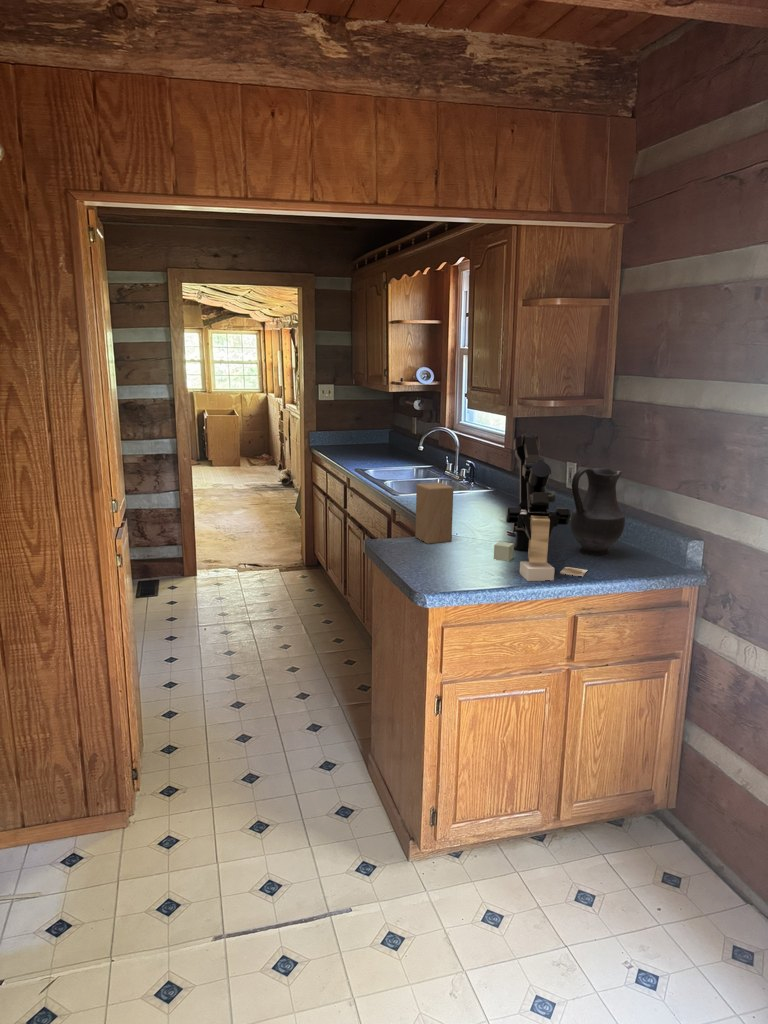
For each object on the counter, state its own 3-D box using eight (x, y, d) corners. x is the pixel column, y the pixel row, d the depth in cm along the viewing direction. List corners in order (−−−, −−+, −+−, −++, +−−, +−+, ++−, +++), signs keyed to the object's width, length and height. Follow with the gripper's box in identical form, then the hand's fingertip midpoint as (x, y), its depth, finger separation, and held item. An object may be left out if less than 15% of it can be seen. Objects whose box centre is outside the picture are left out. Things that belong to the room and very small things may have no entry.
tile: (565, 567, 226) (565, 566, 226) (587, 571, 223) (587, 569, 223) (559, 573, 220) (559, 571, 220) (582, 577, 217) (582, 575, 217)
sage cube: (498, 556, 239) (499, 541, 238) (513, 558, 237) (513, 543, 236) (493, 559, 235) (494, 544, 234) (508, 561, 233) (509, 546, 232)
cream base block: (519, 573, 221) (520, 561, 220) (544, 573, 222) (545, 560, 221) (527, 581, 213) (528, 569, 212) (553, 581, 214) (554, 568, 213)
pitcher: (632, 556, 241) (640, 467, 235) (587, 564, 231) (594, 472, 225) (594, 544, 256) (600, 461, 249) (550, 551, 246) (555, 464, 239)
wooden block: (414, 537, 261) (416, 483, 257) (439, 535, 265) (440, 482, 261) (427, 544, 253) (428, 488, 248) (452, 541, 256) (454, 486, 252)
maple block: (527, 557, 219) (530, 515, 216) (544, 557, 218) (547, 516, 215) (529, 561, 214) (532, 519, 211) (546, 562, 213) (550, 520, 210)
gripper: (508, 480, 215) (510, 524, 207) (571, 481, 214) (575, 526, 206) (505, 500, 225) (506, 543, 217) (565, 502, 223) (569, 545, 215)
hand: (539, 539), depth 213 cm, fingers closed on maple block, 5 cm apart
